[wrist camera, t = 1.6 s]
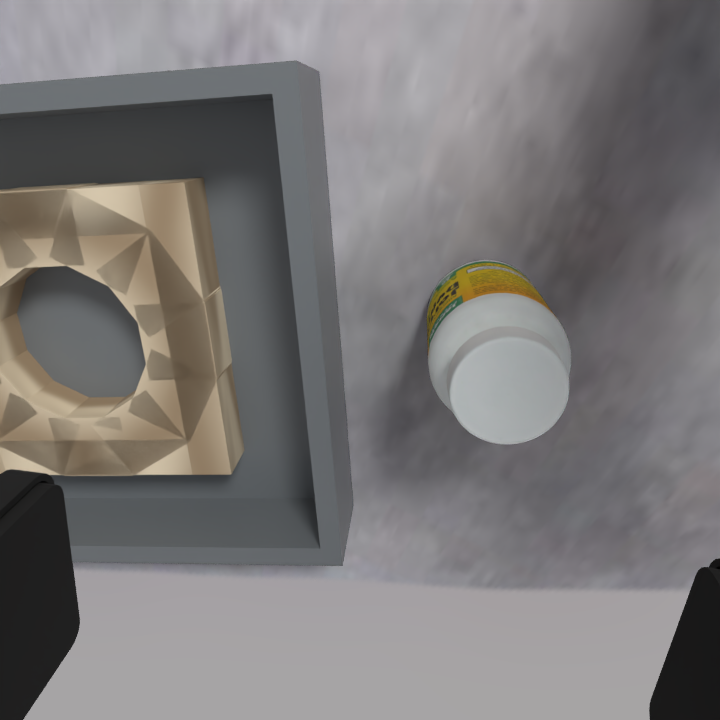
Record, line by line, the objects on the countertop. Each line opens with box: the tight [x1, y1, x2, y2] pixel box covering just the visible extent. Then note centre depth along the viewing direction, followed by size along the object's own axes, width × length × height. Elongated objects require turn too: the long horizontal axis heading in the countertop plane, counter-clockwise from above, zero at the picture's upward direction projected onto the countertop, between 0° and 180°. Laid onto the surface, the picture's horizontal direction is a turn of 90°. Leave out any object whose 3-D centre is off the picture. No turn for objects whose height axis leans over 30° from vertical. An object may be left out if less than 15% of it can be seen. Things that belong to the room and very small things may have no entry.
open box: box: [0, 61, 353, 566], centre depth 29 cm, size 25×22×5 cm
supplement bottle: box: [427, 260, 571, 445], centre depth 25 cm, size 5×5×10 cm
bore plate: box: [0, 177, 244, 476], centre depth 30 cm, size 14×14×2 cm
